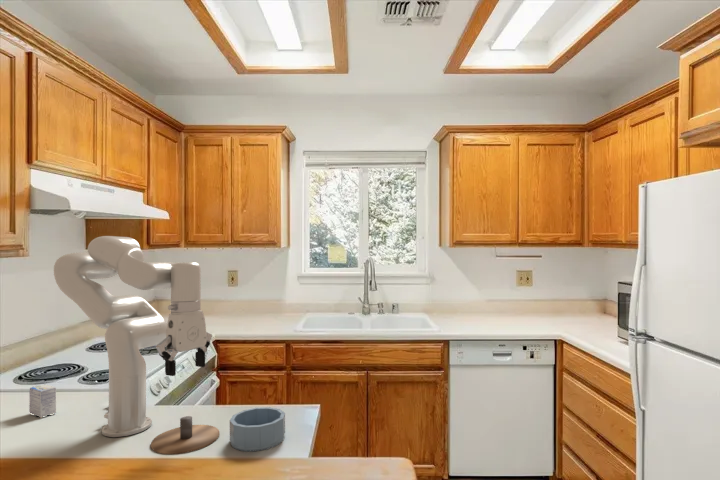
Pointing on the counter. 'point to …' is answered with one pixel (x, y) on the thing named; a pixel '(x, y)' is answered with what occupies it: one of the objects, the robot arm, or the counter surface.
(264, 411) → the bowl
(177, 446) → the lid
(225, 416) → the counter surface
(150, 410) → the counter surface
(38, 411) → the medicine box
